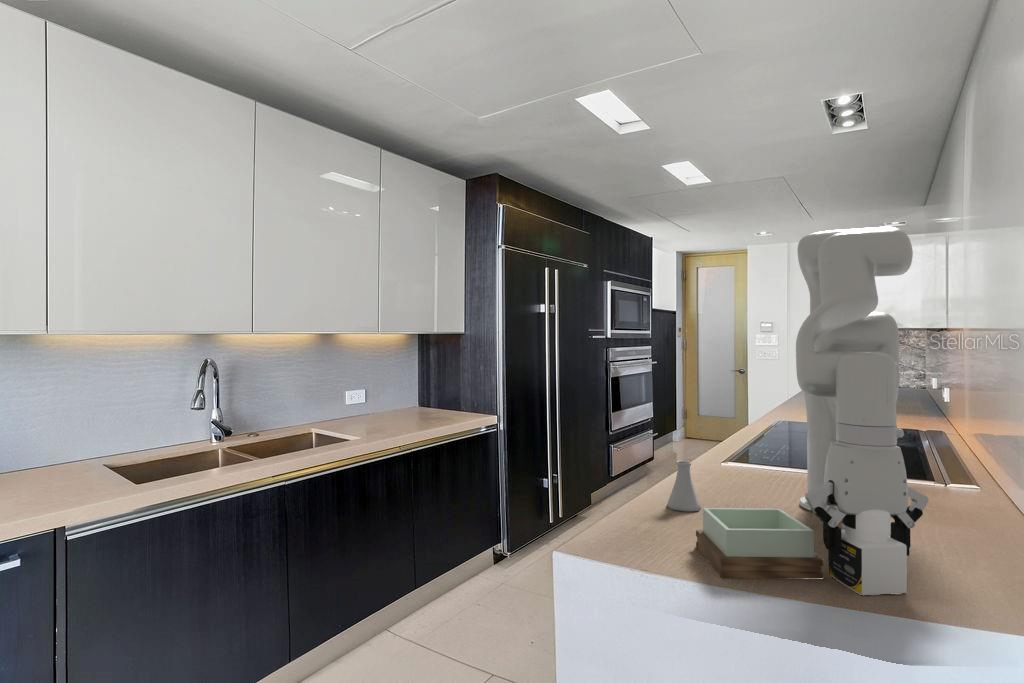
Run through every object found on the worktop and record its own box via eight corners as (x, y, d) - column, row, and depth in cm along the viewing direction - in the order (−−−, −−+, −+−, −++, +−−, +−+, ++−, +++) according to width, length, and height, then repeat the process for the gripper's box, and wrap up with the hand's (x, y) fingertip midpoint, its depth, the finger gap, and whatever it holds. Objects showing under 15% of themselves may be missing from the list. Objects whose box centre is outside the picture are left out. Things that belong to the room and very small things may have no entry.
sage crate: (779, 532, 94) (779, 508, 94) (813, 557, 83) (813, 530, 83) (703, 531, 95) (702, 508, 95) (726, 556, 84) (726, 529, 84)
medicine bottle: (827, 575, 84) (827, 497, 84) (871, 573, 84) (870, 496, 85) (861, 596, 77) (860, 511, 77) (908, 595, 77) (907, 510, 77)
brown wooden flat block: (783, 548, 95) (783, 531, 95) (823, 579, 82) (823, 559, 82) (695, 547, 96) (695, 530, 96) (721, 578, 83) (721, 558, 83)
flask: (703, 513, 115) (703, 466, 115) (667, 511, 116) (667, 464, 116) (698, 504, 122) (698, 459, 122) (665, 502, 123) (665, 458, 123)
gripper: (907, 432, 84) (908, 544, 84) (794, 431, 85) (794, 542, 84) (944, 440, 77) (945, 563, 76) (819, 439, 77) (820, 561, 77)
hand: (866, 552), depth 80 cm, fingers open, 9 cm apart
